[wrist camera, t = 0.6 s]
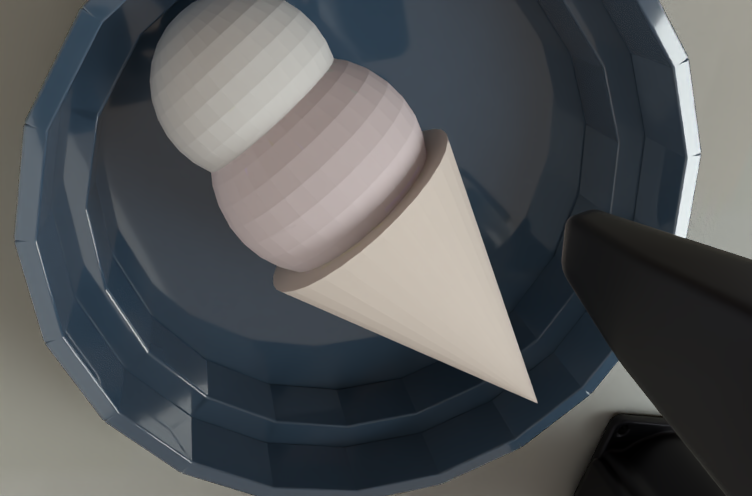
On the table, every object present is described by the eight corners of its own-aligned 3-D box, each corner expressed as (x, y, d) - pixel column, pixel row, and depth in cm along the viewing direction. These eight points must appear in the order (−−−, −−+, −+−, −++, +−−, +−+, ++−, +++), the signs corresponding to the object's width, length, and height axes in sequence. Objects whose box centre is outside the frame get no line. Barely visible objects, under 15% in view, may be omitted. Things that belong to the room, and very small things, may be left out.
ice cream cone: (488, 348, 26) (186, 21, 21) (643, 308, 22) (311, -112, 17) (433, 497, 22) (47, 137, 17) (609, 483, 18) (164, 1, 13)
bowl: (700, -34, 22) (811, -18, 18) (509, 425, 29) (560, 509, 25) (88, -243, 17) (58, -284, 13) (24, 389, 23) (-9, 491, 19)
